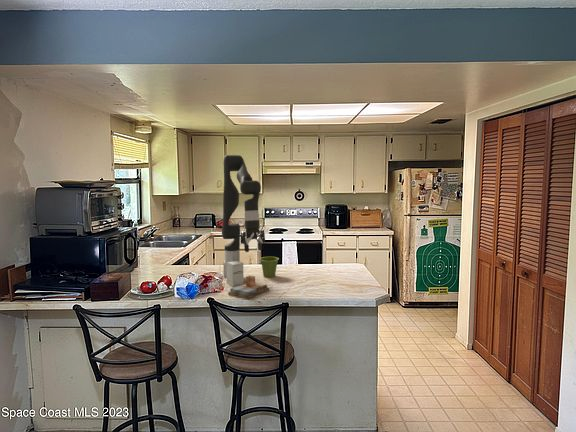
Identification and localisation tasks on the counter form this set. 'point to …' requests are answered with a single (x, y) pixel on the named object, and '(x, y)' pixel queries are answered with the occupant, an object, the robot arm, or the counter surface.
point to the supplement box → (235, 273)
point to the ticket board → (259, 291)
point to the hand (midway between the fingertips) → (253, 251)
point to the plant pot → (269, 266)
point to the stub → (250, 282)
